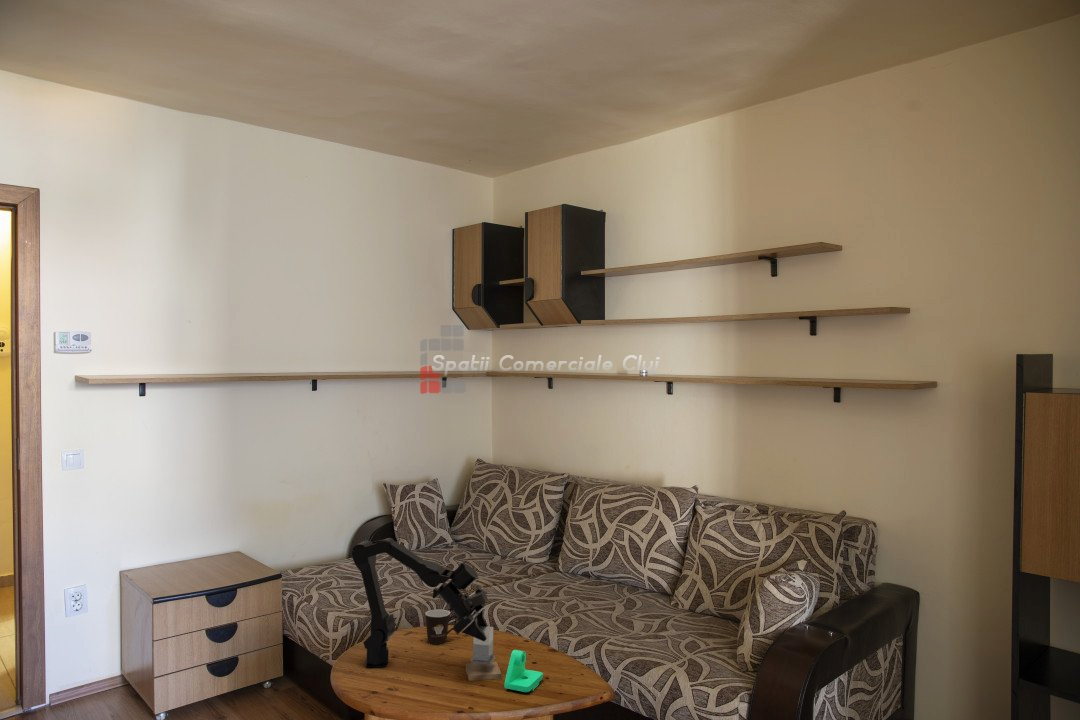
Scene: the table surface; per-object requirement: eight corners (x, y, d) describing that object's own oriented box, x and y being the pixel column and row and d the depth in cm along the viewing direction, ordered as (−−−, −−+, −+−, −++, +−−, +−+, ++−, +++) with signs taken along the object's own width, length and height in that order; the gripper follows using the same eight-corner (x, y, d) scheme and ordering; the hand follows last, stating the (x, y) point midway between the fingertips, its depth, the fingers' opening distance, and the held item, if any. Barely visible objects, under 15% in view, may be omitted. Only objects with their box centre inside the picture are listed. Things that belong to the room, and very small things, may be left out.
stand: (469, 680, 224) (469, 675, 224) (465, 668, 234) (465, 663, 234) (501, 678, 226) (501, 673, 226) (496, 666, 236) (496, 661, 236)
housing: (470, 662, 227) (470, 631, 228) (475, 654, 234) (476, 625, 234) (490, 664, 226) (491, 633, 226) (495, 656, 233) (496, 626, 233)
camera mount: (527, 696, 214) (528, 660, 214) (504, 691, 217) (505, 656, 217) (543, 681, 225) (544, 647, 225) (521, 677, 228) (521, 643, 228)
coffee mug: (421, 645, 254) (421, 616, 254) (429, 636, 262) (429, 608, 262) (453, 647, 252) (454, 618, 252) (460, 639, 260) (461, 610, 260)
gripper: (464, 590, 222) (498, 630, 220) (480, 574, 241) (512, 611, 238) (439, 614, 223) (472, 654, 221) (456, 597, 242) (488, 633, 239)
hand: (487, 637), depth 230 cm, fingers closed on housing, 5 cm apart
